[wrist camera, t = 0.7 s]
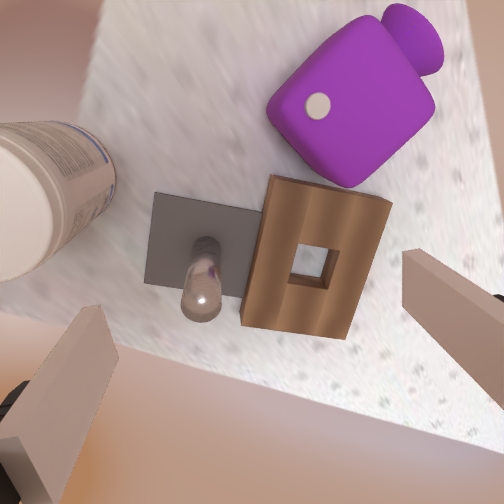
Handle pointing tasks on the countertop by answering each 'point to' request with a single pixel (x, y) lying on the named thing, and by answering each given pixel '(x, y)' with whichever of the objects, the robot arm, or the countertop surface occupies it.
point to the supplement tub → (47, 190)
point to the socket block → (315, 234)
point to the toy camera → (360, 94)
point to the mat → (192, 228)
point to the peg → (203, 281)
